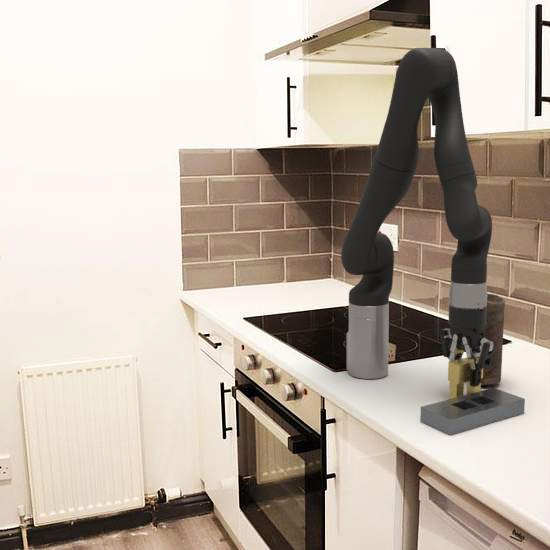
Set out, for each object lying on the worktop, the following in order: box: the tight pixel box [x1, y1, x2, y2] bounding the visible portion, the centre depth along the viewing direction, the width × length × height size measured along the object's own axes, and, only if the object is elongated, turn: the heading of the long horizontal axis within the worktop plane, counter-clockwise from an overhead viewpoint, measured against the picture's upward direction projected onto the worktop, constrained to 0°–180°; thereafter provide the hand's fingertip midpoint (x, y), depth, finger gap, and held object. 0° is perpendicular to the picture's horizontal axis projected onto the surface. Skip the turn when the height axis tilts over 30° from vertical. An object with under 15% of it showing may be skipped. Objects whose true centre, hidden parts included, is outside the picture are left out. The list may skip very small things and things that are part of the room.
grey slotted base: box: [420, 387, 526, 436], centre depth 137 cm, size 8×20×3 cm, turn 121°
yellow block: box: [447, 357, 483, 400], centre depth 146 cm, size 3×7×8 cm, turn 121°
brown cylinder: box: [472, 293, 506, 387], centre depth 155 cm, size 8×7×20 cm
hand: (465, 382), depth 146 cm, fingers open, 4 cm apart
